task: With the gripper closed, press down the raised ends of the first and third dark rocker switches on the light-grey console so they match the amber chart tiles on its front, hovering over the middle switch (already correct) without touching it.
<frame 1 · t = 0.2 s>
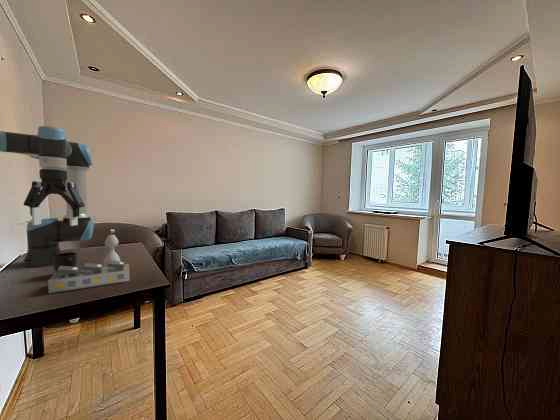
hand: (55, 225, 90), 26 cm above the table, fingers open, 13 cm apart
switch 3: (115, 264, 105), point 7 cm above the table, hinge at -15.0°
switch 1: (68, 270, 96), point 7 cm above the table, hinge at -15.0°
figurine: (112, 268, 120), on the table
console: (93, 282, 101), on the table
switch 2: (93, 267, 100), point 7 cm above the table, hinge at -15.0°
mug: (66, 275, 108), on the table
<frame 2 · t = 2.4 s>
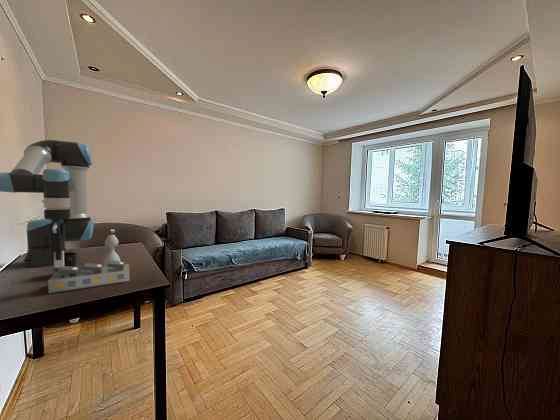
hand: (59, 267, 94), 9 cm above the table, fingers closed
switch 1: (68, 270, 96), point 7 cm above the table, hinge at -15.0°, touching gripper
everything else where it was.
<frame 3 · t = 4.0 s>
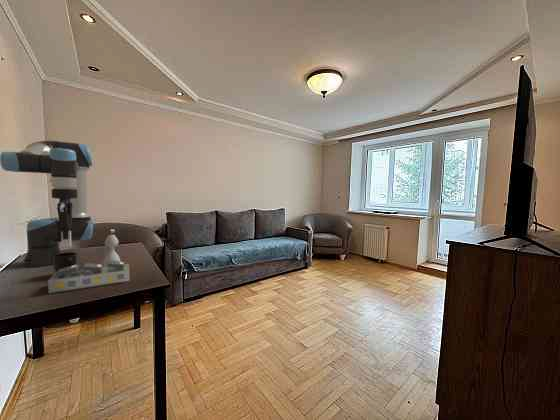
hand: (66, 246, 95), 17 cm above the table, fingers closed
switch 1: (68, 270, 96), point 7 cm above the table, hinge at 12.8°
everything else where it was.
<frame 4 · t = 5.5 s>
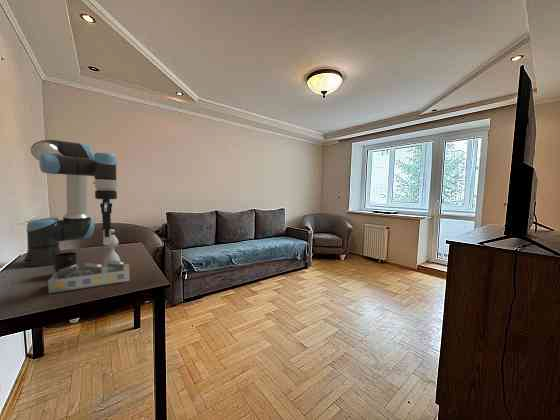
hand: (107, 244, 102), 16 cm above the table, fingers closed
switch 1: (68, 270, 96), point 7 cm above the table, hinge at 17.7°
everything else where it was.
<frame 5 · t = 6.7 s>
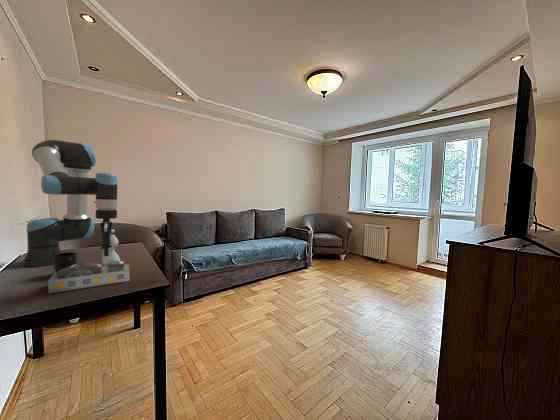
hand: (106, 262, 103), 8 cm above the table, fingers closed
switch 3: (115, 264, 105), point 7 cm above the table, hinge at -7.5°, touching gripper
switch 1: (68, 270, 96), point 7 cm above the table, hinge at 19.0°
everything else where it was.
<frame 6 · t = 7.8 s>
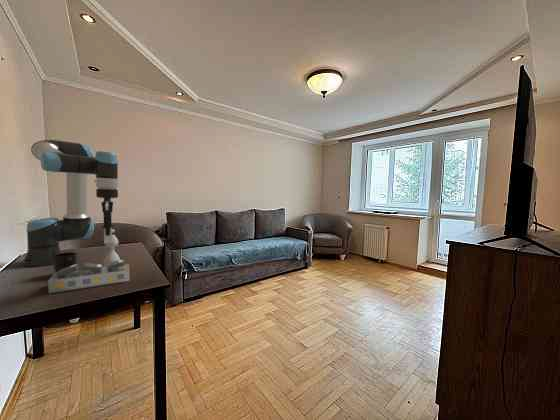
hand: (108, 242, 103), 17 cm above the table, fingers closed
switch 3: (115, 264, 105), point 7 cm above the table, hinge at 10.3°
switch 1: (68, 270, 96), point 7 cm above the table, hinge at 19.4°
everything else where it was.
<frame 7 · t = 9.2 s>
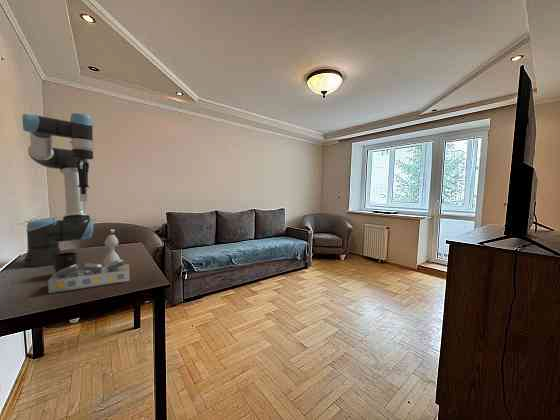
hand: (84, 201, 108), 34 cm above the table, fingers closed
switch 3: (115, 264, 105), point 7 cm above the table, hinge at 15.3°
everything else where it was.
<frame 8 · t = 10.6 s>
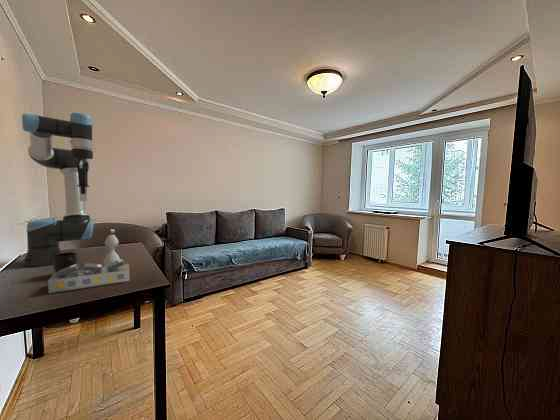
hand: (83, 201, 108), 34 cm above the table, fingers closed
switch 3: (115, 264, 105), point 7 cm above the table, hinge at 16.8°
everything else where it was.
at the end: switch 1 at +20° (first picture: -15°); switch 3 at +17° (first picture: -15°); switch 2 at -15° (first picture: -15°) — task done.
